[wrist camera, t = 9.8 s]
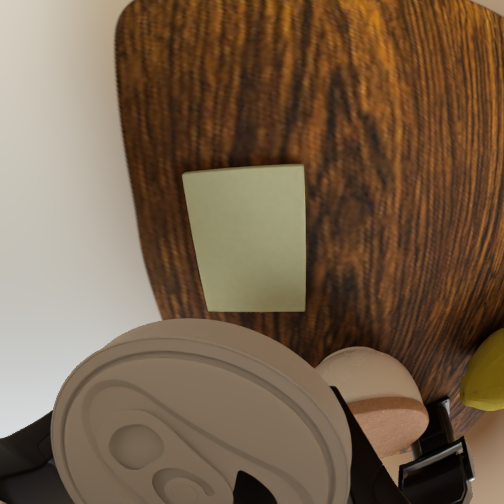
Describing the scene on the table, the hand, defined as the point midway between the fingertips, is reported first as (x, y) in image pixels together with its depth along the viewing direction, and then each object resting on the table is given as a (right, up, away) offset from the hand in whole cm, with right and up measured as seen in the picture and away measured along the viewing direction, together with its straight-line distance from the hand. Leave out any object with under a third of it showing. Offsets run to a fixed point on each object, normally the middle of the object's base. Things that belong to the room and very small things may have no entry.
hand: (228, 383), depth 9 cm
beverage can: (0, -3, +6) cm, 7 cm away
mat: (+1, +5, +10) cm, 11 cm away
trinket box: (+10, -6, +14) cm, 18 cm away
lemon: (+25, -5, +12) cm, 28 cm away
